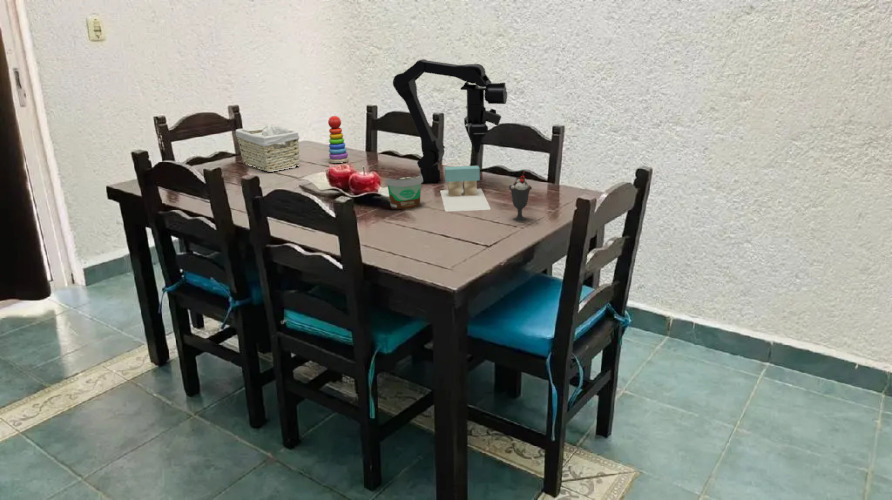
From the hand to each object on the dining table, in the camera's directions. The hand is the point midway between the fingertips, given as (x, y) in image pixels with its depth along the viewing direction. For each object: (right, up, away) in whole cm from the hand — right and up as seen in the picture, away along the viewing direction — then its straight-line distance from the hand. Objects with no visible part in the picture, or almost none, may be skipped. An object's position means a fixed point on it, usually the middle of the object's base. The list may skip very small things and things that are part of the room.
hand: (475, 149), depth 223 cm
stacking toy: (-54, +1, +43) cm, 69 cm away
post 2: (-2, -16, -7) cm, 18 cm away
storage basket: (-80, -1, +39) cm, 89 cm away
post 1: (-7, -16, -8) cm, 19 cm away
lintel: (-5, -11, -9) cm, 15 cm away
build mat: (-4, -18, -13) cm, 23 cm away
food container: (-22, -21, -19) cm, 36 cm away
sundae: (+11, -26, -33) cm, 44 cm away
